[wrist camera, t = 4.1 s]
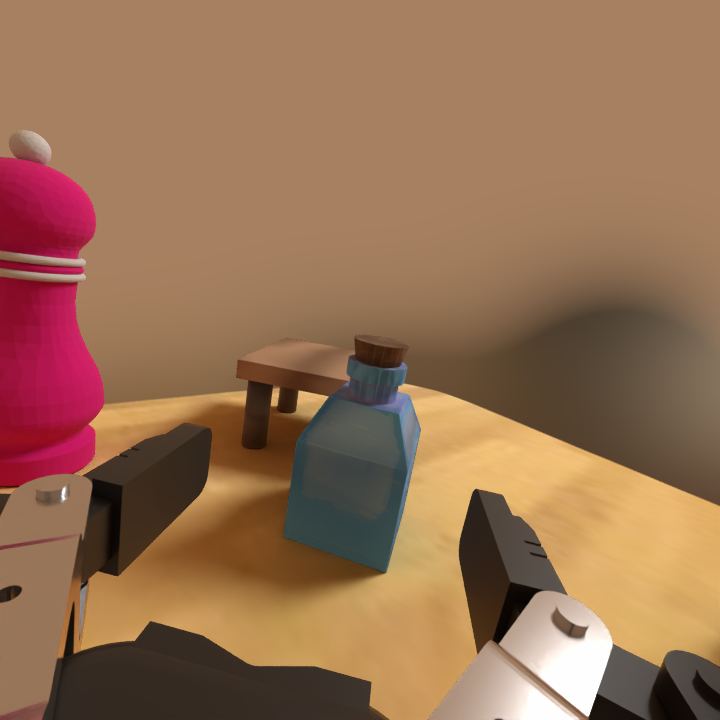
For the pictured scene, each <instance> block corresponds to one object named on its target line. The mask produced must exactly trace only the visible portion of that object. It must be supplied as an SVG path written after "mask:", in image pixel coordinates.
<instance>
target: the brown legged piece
mask: <svg viewBox="0 0 720 720" xmlns="http://www.w3.org/2000/svg"><path fill="white" fill-rule="evenodd" d="M353 354H355V351H354V350H348V349H343V348H338V347H332V346H327V345H321V344H316V343H311V342H305V341H301V340H295V339H290V338H285V339H282V340H280V341H278V342H276V343H274V344H271V345H269V346H267V347H264V348H262V349H260V350H258V351H255V352H253V353H251V354H249V355H247V356H244V357H242V358H240V359H238V364H237V374H236V378H240V379H245V380H248V389H247V398H246V408H245V417H244V427H243V436H242V445H243V446H244V447H246V448H250V449H259V448H263V447H264V446H265V445H266V439H267V431H268V422H269V414H270V406H271V398H272V389H273V385H276V386H280V391H279V399H278V407H277V409H278V410H279V411H281V412H284V413H293V412H295V411H296V406H297V399H298V391H299V390H300V391H305V392H310V393H315V394H320V395H325V396H330V395H332V394H333V393H334V392H336V391H337V390H338V389H340V388H341V387H342V386H343V385H345V384H346V383H347V382H349V381H350V376H348V375H347V373H346V370H347V364H348V358H349V356H350V355H353Z"/></svg>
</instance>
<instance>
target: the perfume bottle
mask: <svg viewBox="0 0 720 720" xmlns="http://www.w3.org/2000/svg"><path fill="white" fill-rule="evenodd" d="M408 348H409V345H408V344H406V343H404V342H401V341H398V340H394V339H390V338H385V337H379V336H371V335H356V336H355V354H353V355H350V356H349V358H348V364H347V370H346V373H347V375H348V376H350V381H349V382H347V383H346V384H345V385H343V386H342V387H341V388H340V389H338V390H337V391H336V392H334V393H333V394H332V395H330V396H329V397H328V399H327V400H326V401H325V403H324V404H323V405H322V407H321V408H320V409H319V411H318V412H317V413H316V415H315V416H314V417H313V419H312V420H311V421H310V423H309V424H308V425H307V427H306V428H305V429H304V431H303V432H302V433H301V435H300V436H299V437H298V439H297V441H296V448H295V456H294V463H293V470H292V477H291V485H290V492H289V499H288V506H287V513H286V521H285V528H284V535H283V537H285V538H287V539H290V540H293V541H296V542H299V543H302V544H305V545H307V546H310V547H313V548H316V549H319V550H322V551H324V552H327V553H330V554H333V555H336V556H339V557H341V558H344V559H347V560H350V561H353V562H356V563H359V564H361V565H364V566H367V567H370V568H373V569H376V570H378V571H381V572H384V573H386V572H387V568H388V564H389V561H390V557H391V554H392V550H393V546H394V543H395V539H396V536H397V532H398V528H399V525H400V521H401V518H402V514H403V510H404V506H405V501H406V496H407V492H408V487H409V482H410V478H411V473H412V469H413V464H414V459H415V455H416V450H417V445H418V441H419V436H420V431H421V428H420V425H419V422H418V419H417V416H416V413H415V410H414V407H413V404H412V401H411V398H410V395H408V394H404V393H400V392H397V391H398V386H401V385H403V384H404V382H405V377H406V371H407V365H405V364H404V363H402V361H403V359H404V357H405V355H406V352H407V350H408Z"/></svg>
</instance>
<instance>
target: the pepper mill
mask: <svg viewBox="0 0 720 720" xmlns="http://www.w3.org/2000/svg"><path fill="white" fill-rule="evenodd" d="M9 147H10V150H11V151H12V153H13V154H14V156H15V157H16V158H17V159H15V158H4V157H3V158H2V157H0V486H21V485H23V484H25V483H27V482H29V481H32V480H35V479H38V478H41V477H45V476H50V475H57V474H73V473H75V472H77V471H79V470H80V469H82V468H84V467H85V466H86V465H87V464H88V463H89V462H90V461H91V460H92V459H93V457H94V455H95V430H94V429H93V428H92V427H91V426H90V425H88V424H89V423H90V422H91V421H92V420H93V419H94V418H95V417H96V416H97V415H98V413H99V412H100V410H101V409H102V408H103V405H104V390H103V382H102V379H101V376H100V373H99V370H98V368H97V366H96V364H95V363H94V360H93V358H92V357H91V355H90V353H89V351H88V349H87V347H86V345H85V343H84V341H83V338H82V336H81V334H80V330H79V327H78V323H77V319H76V306H75V299H76V291H77V283H78V282H82V281H84V280H85V279H86V277H85V275H84V274H82V273H83V271H84V270H83V268H82V267H83V266H85V264H86V262H85V260H83V259H81V258H78V254H79V251H80V250H81V249H82V247H83V246H85V245H86V244H87V243H88V242H89V241H90V240H91V239H92V237H93V236H94V233H95V228H96V219H95V218H96V217H95V212H94V208H93V205H92V203H91V201H90V199H89V197H88V195H87V194H86V193H85V192H84V190H83V189H82V188H81V187H80V186H79V185H78V184H77V183H76V182H74V181H73V180H72V179H70V178H69V177H67V176H66V175H64V174H63V173H61V172H59V171H57V170H55V169H52V168H50V167H47V166H45V164H47V163H48V162H49V160H50V159H51V150H50V147H49V145H48V143H47V142H46V141H45V140H44V139H43V138H42V137H41V136H39V135H38V134H36V133H34V132H31V131H27V130H19V131H16V132H14V133H13V134H12V135H11V137H10V138H9Z"/></svg>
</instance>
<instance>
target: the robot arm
mask: <svg viewBox="0 0 720 720" xmlns="http://www.w3.org/2000/svg"><path fill="white" fill-rule="evenodd" d="M211 440H212V432H211V429H210V428H207V427H203V426H198V425H194V424H189V423H183V424H181V425H180V426H178V427H176V428H175V429H173V430H171V431H170V432H168V433H166V434H165V435H164V434H162V435H159V436H155V437H152V438H148V439H145V440H143V441H142V442H140V443H138V444H136V445H135V446H133V447H131V449H128V450H126V451H124V452H122V453H121V454H120V455H119V456H116V457H114V458H112V459H110V460H109V461H107V462H105V463H103V464H102V465H100V466H98V467H96V468H95V469H93V470H91V471H90V472H88V473H86V474H84V475H83V476H80V475H74V474H57V475H50V476H45V477H41V478H38V479H35V480H32V481H29V482H27V483H25V484H23V485H21V486H20V487H18V488H17V489H15V490H14V491H13V492H12V494H0V720H389V719H388V718H386V717H385V716H384V715H383V714H381V713H380V712H379V711H377V710H376V709H374V708H372V707H371V706H369V703H370V692H371V682H369V681H366V680H362V679H359V678H355V677H351V676H348V675H344V674H340V673H337V672H333V671H330V670H326V669H322V668H319V667H315V666H253V665H250V664H248V663H246V662H244V661H242V660H241V659H239V658H238V657H236V656H234V655H233V654H231V653H230V652H228V651H226V650H225V649H223V648H222V647H220V646H218V645H217V644H215V643H214V642H212V641H210V640H209V639H207V638H206V637H204V636H202V635H199V634H195V633H192V632H188V631H184V630H181V629H177V628H173V627H170V626H166V625H163V624H159V623H155V622H152V621H150V622H149V623H148V625H147V626H146V627H145V629H144V630H143V631H142V633H141V634H140V635H139V636H138V638H137V639H136V640H135V641H125V642H116V643H110V644H105V645H100V646H96V647H93V648H89V649H86V650H83V651H81V644H82V637H83V629H84V622H85V614H86V606H87V599H88V591H89V578H90V577H91V576H92V575H94V574H95V573H96V572H97V571H99V572H103V573H107V574H111V575H114V576H119V575H120V574H121V573H122V572H123V571H124V570H125V569H126V568H127V567H128V566H129V565H130V564H131V563H132V562H133V561H134V560H135V559H136V558H137V557H138V556H139V555H140V554H141V553H142V552H143V551H144V550H145V549H146V548H147V547H148V546H149V545H150V544H151V543H152V542H153V541H154V540H155V539H156V538H157V537H158V536H159V535H160V534H161V533H162V532H163V531H164V530H165V529H166V528H167V527H168V526H169V525H170V524H171V523H172V522H173V521H174V520H175V519H176V518H177V517H178V516H179V515H180V514H181V513H182V512H183V511H184V510H185V509H186V508H187V507H188V506H189V505H190V504H191V503H192V502H193V501H194V500H195V499H196V498H197V497H198V496H199V495H200V493H201V492H202V490H203V488H204V486H205V484H206V481H207V477H208V468H209V459H210V449H211ZM459 561H460V566H461V571H462V576H463V581H464V587H465V592H466V597H467V602H468V607H469V613H470V618H471V623H472V628H473V633H474V639H475V644H476V649H477V654H478V655H477V656H476V657H475V659H474V660H473V661H472V663H471V664H470V665H469V666H468V668H467V669H466V670H465V672H464V673H463V674H462V676H461V677H460V678H459V679H458V681H457V682H456V683H455V685H454V686H453V687H452V688H451V690H450V691H449V692H448V694H447V695H446V696H445V697H444V699H443V700H442V701H441V703H440V704H439V705H438V706H437V708H436V709H435V710H434V712H433V713H432V714H431V715H430V717H429V718H428V719H427V720H720V667H718V666H717V665H715V664H713V663H712V662H710V661H708V660H706V659H704V658H702V657H700V656H697V655H695V654H692V653H689V652H685V651H679V650H674V651H670V652H668V653H667V654H666V656H665V658H664V660H663V663H662V665H661V667H658V666H656V665H654V664H652V663H650V662H648V661H646V660H644V659H642V658H640V657H638V656H636V655H634V654H632V653H630V652H628V651H626V650H623V649H622V648H620V647H618V646H616V645H614V644H613V643H612V638H611V635H610V633H609V631H608V629H607V627H606V626H605V625H604V623H603V622H602V621H601V620H600V619H599V617H598V616H597V615H595V614H594V613H593V612H592V611H591V610H590V609H589V608H587V607H586V606H585V605H583V604H582V603H580V602H579V601H577V600H575V599H573V598H571V597H569V596H568V595H567V593H566V591H565V589H564V587H563V585H562V583H561V581H560V579H559V578H558V576H557V574H556V572H555V570H554V568H553V566H552V564H551V562H550V560H549V559H547V555H546V553H545V551H544V549H543V547H541V543H540V541H539V539H538V537H537V536H536V534H535V532H534V530H533V529H532V528H531V527H530V526H529V525H528V524H527V523H526V522H525V521H524V520H523V519H522V518H521V517H518V516H514V515H512V513H511V511H510V509H509V507H508V505H507V503H506V501H505V498H504V496H503V495H501V494H497V493H492V492H488V491H483V490H479V489H475V490H474V491H473V493H472V496H471V500H470V504H469V507H468V511H467V515H466V519H465V522H464V526H463V530H462V533H461V538H460V544H459Z"/></svg>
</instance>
